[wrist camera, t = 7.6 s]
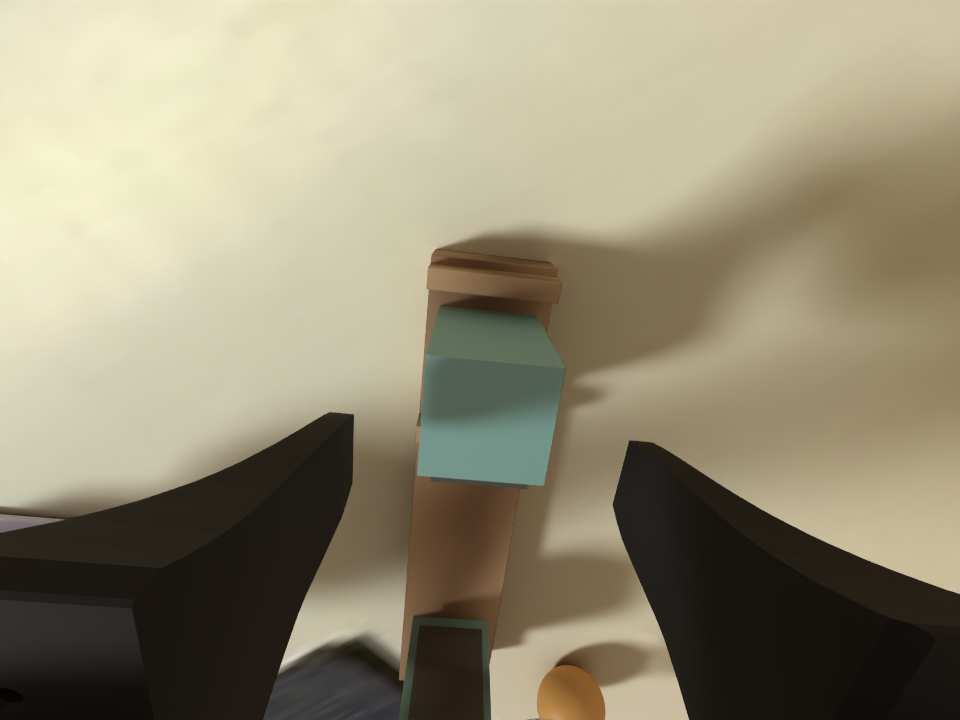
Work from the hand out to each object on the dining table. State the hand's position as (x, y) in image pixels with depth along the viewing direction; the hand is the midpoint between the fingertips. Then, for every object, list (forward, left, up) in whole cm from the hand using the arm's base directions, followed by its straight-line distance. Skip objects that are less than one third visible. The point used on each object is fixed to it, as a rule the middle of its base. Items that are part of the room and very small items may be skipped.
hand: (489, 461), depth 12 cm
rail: (0, -8, -10) cm, 13 cm away
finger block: (0, 0, -8) cm, 8 cm away
